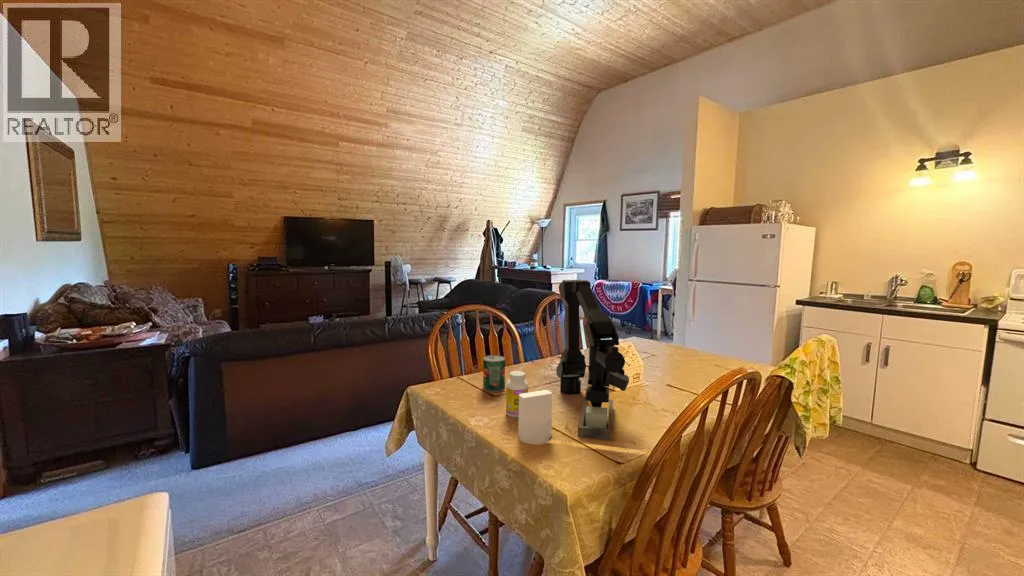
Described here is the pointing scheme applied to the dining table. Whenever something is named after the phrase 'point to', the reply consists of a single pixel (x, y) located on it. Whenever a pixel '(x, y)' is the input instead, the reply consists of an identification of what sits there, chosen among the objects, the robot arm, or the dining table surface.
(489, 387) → the canned tomato
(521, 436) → the cylinder with rectangular tab
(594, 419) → the block
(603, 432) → the chute
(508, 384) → the supplement bottle
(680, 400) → the dining table surface
